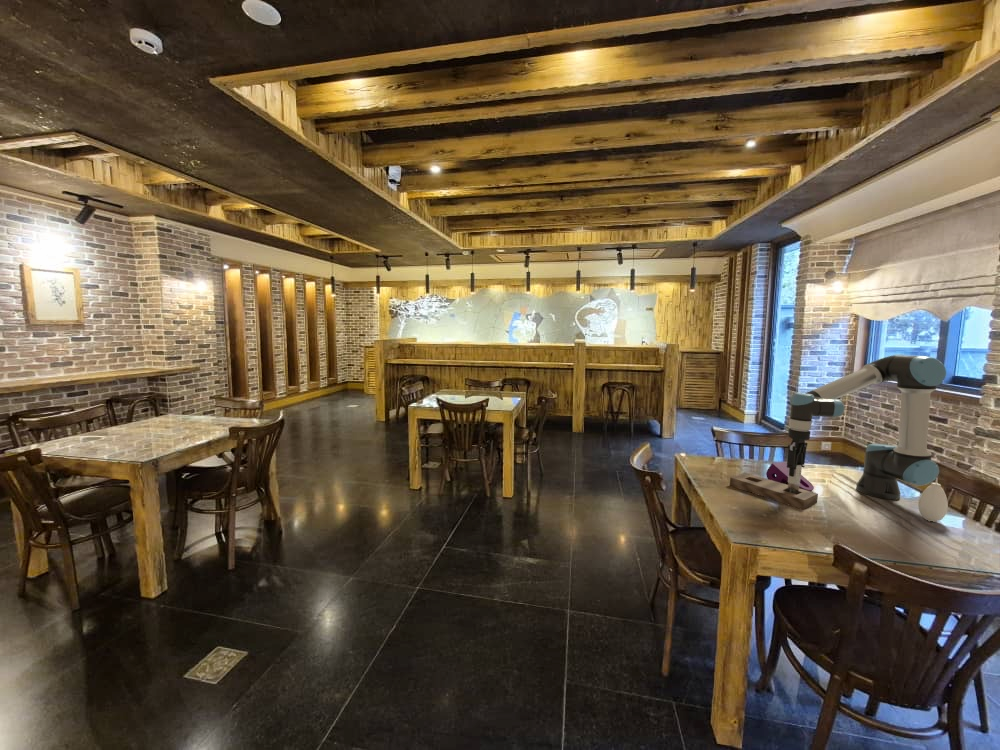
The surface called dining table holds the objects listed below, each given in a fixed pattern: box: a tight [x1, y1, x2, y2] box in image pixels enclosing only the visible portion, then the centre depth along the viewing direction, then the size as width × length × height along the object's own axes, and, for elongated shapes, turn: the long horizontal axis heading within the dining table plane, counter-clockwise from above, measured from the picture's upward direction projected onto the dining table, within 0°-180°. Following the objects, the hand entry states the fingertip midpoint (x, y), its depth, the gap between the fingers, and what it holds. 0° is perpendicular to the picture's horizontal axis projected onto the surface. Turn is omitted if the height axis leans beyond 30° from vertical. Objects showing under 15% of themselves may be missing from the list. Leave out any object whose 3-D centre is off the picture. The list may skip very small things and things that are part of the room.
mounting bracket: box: [765, 461, 815, 492], centre depth 198 cm, size 9×8×18 cm
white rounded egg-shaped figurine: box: [918, 477, 949, 523], centre depth 162 cm, size 8×8×18 cm
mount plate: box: [729, 472, 819, 510], centre depth 186 cm, size 30×14×4 cm, turn 34°
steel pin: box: [787, 464, 802, 495], centre depth 179 cm, size 4×4×14 cm
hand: (793, 482), depth 179 cm, fingers closed on steel pin, 4 cm apart
